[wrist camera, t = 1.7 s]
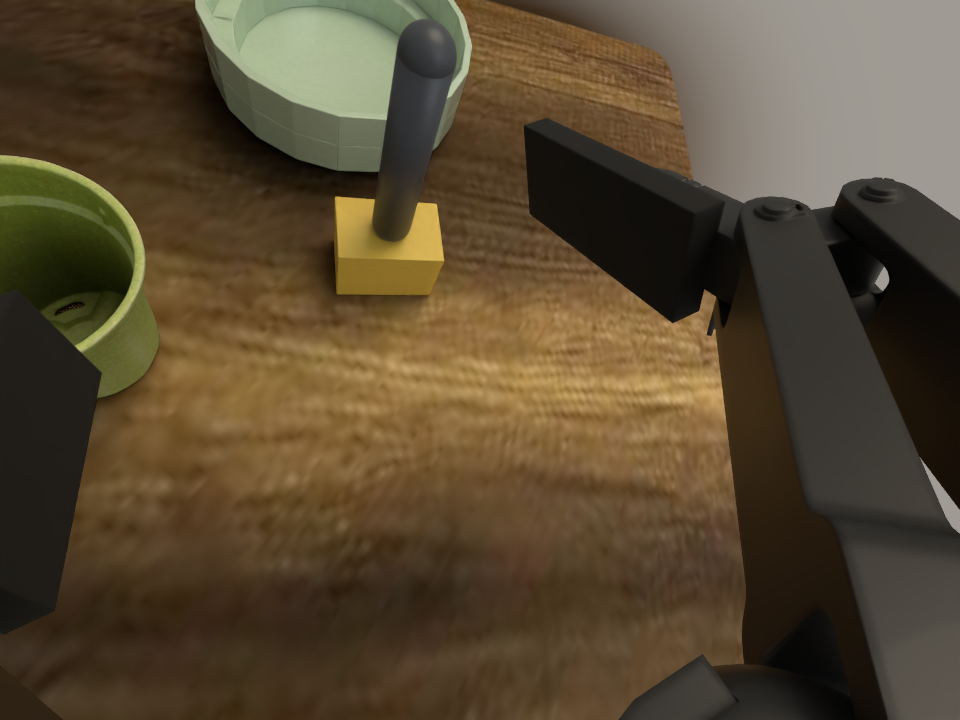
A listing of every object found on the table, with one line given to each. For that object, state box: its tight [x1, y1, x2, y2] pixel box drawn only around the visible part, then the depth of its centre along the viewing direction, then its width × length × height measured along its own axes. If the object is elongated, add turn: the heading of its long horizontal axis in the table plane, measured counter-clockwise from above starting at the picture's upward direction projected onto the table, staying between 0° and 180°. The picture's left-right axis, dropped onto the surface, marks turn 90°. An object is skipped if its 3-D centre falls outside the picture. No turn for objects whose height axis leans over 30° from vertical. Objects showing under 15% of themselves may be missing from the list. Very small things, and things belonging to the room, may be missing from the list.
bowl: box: [195, 0, 472, 172], centre depth 33 cm, size 17×17×6 cm
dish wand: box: [334, 19, 457, 295], centre depth 24 cm, size 6×4×17 cm, turn 99°
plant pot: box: [0, 155, 160, 398], centre depth 21 cm, size 9×9×9 cm
